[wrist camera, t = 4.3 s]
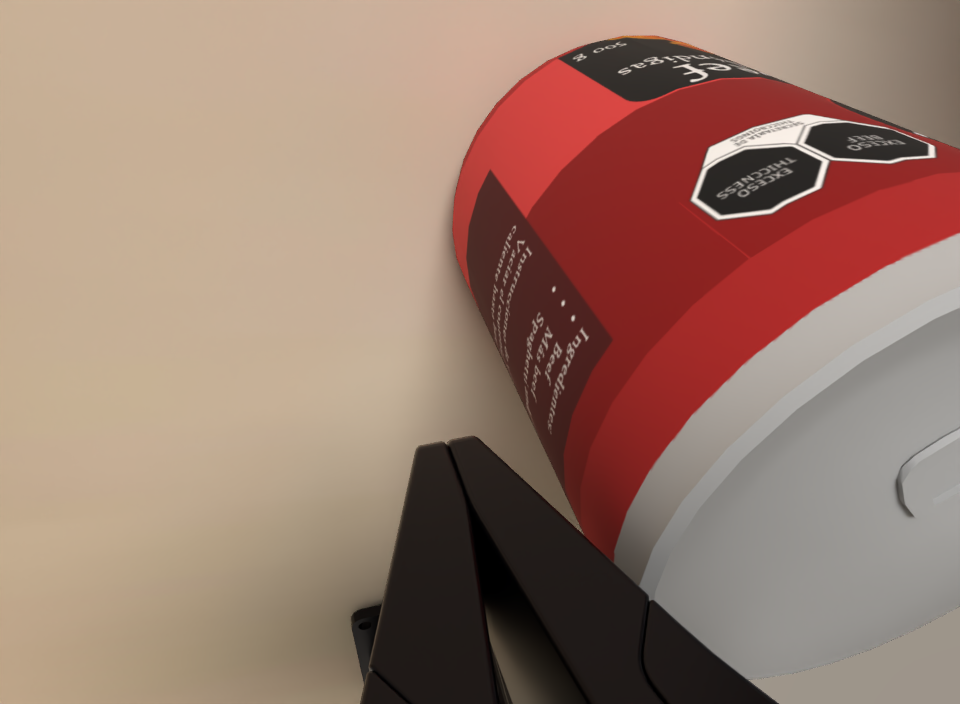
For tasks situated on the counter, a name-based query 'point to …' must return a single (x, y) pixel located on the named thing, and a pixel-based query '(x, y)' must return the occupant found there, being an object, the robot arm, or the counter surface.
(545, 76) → the canned food
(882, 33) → the counter surface
